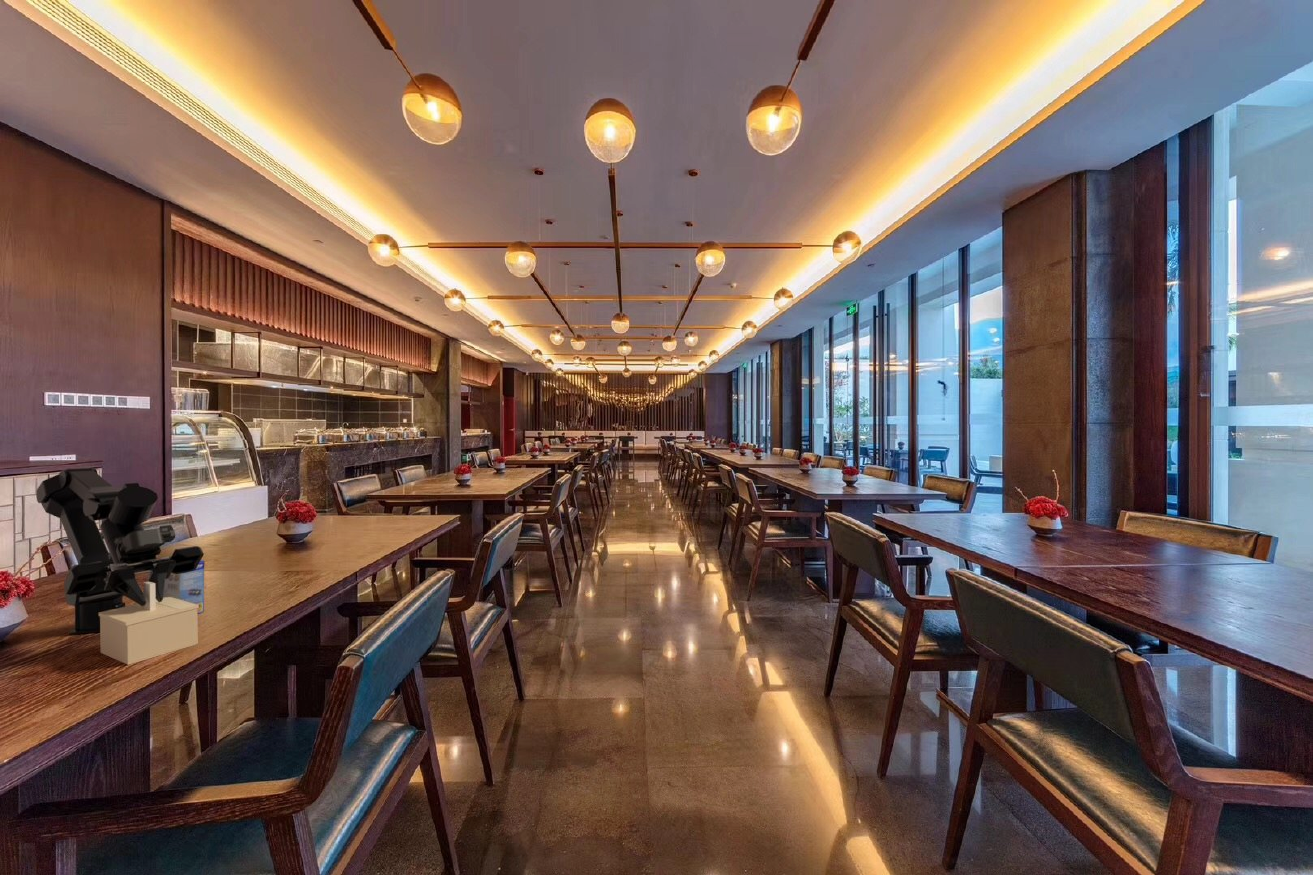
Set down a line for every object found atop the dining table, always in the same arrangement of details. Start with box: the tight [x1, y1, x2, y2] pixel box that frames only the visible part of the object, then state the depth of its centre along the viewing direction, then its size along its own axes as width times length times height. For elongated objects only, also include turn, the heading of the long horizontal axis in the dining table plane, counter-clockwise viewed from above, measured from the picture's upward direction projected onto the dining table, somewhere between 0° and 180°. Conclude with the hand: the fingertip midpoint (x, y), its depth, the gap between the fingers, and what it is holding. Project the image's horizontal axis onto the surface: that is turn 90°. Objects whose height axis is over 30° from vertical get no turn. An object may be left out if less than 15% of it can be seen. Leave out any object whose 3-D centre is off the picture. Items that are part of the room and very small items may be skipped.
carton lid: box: [99, 581, 199, 626], centre depth 98 cm, size 12×10×6 cm
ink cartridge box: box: [147, 559, 206, 615], centre depth 117 cm, size 10×6×14 cm, turn 78°
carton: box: [99, 608, 199, 665], centre depth 98 cm, size 12×10×7 cm
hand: (152, 602), depth 97 cm, fingers open, 2 cm apart
